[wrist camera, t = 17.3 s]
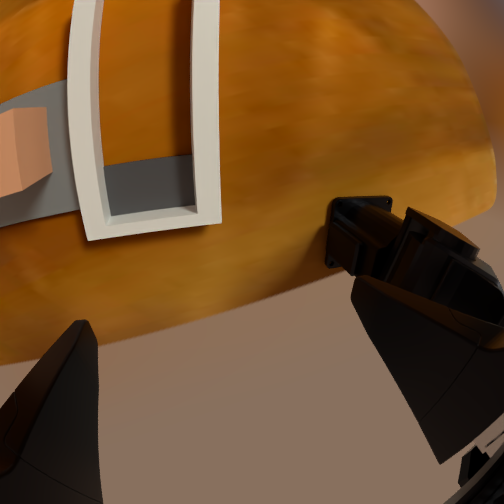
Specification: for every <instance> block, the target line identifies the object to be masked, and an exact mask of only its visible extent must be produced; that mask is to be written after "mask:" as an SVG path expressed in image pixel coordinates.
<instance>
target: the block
mask: <svg viewBox="0 0 504 504" xmlns="http://www.w3.org/2000/svg"><path fill="white" fill-rule="evenodd" d="M52 172H53V170H52V163H51V156H50V148H49V138H48V126H47V108H46V107H29V108H13V109H10V110H8V111H6V112H4V113H1V114H0V197H3V196H6V195H9V194H13V193H16V192H19V191H23V190H24V189H26V188H27V187H29V186H30V185H32V184H34V183H35V182H37V181H38V180H40V179H42V178H43V177H45V176H47V175H48V174H50V173H52Z"/></svg>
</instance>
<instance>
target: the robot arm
mask: <svg viewBox="0 0 504 504" xmlns="http://www.w3.org/2000/svg"><path fill="white" fill-rule="evenodd" d="M387 201H388V202H387ZM392 201H393V200H392V198H391V197H389V196H356V197H337V198H335V199H334V201H333V204H332V212H331V221H330V224H329V230H328V238H327V245H326V257H325V265H326V266H327V267H328V268H336V267H343V268H344V269H345V270H346V271H347V272H348V273H349V274H350V275H351V276H356V278H355V280H354V284H353V288H352V292H351V302H352V304H353V306H354V308H355V310H356V312H357V314H358V316H359V318H360V320H361V322H362V324H363V326H364V328H365V330H366V332H367V334H368V336H369V338H370V339H371V341H372V342H373V344H374V346H375V347H376V349H377V351H378V353H379V354H380V356H381V357H382V359H383V361H384V363H385V364H386V366H387V368H388V369H389V371H390V373H391V375H392V376H393V378H394V380H395V381H396V383H397V385H398V387H399V389H400V390H401V392H402V394H403V396H404V397H405V399H406V401H407V403H408V405H409V407H410V408H411V410H412V412H413V414H414V416H415V418H416V420H417V421H418V422H419V425H420V427H421V429H422V431H423V433H424V435H425V437H426V439H427V441H428V443H429V445H430V447H431V449H432V451H433V453H434V455H435V457H436V459H437V461H438V463H439V464H440V465H441V464H442V463H444V462H445V461H446V460H448V459H449V458H451V457H452V456H453V455H455V454H456V453H458V452H459V451H460V450H461V449H463V448H464V447H465V446H467V445H468V444H469V443H470V442H472V441H474V443H475V445H474V446H473V447H472V448H471V449H470V450H469V451H468V452H467V453H466V454H465V455H464V456H463V457H462V463H461V468H460V474H459V480H458V484H459V485H460V487H461V489H460V490H458V491H457V493H455V494H454V495H453V496H452V497H451V498H450V499H448V500H447V501H446V502H445V503H444V504H504V291H503V289H502V287H501V284H500V282H499V280H498V278H497V276H496V275H495V273H494V271H493V270H492V268H491V266H489V265H488V264H487V263H485V262H484V261H482V260H481V259H479V258H478V257H477V254H478V252H479V250H480V248H479V247H478V246H476V245H475V244H474V243H473V242H472V241H470V240H469V239H468V238H467V237H465V236H464V235H463V234H462V233H460V232H459V231H457V230H456V229H454V228H452V227H450V226H449V225H447V224H445V223H443V222H442V221H440V220H438V219H436V218H433V217H431V216H429V215H427V214H424V213H422V212H420V211H417V210H415V209H413V208H410V207H408V208H407V210H406V213H405V214H406V216H405V219H404V220H402V219H400V218H399V217H397V216H395V215H394V214H392V213H391V208H392ZM339 202H340V205H339V206H338V203H339ZM331 261H332V262H331ZM330 262H331V263H330ZM329 263H330V264H329ZM98 393H99V378H98V344H97V339H96V337H95V334H94V332H93V330H92V328H91V326H90V324H89V322H88V321H87V320H76V321H74V322H73V323H72V325H71V326H70V327H69V328H68V329H67V330H66V331H65V332H64V333H63V334H62V335H61V336H60V337H59V339H58V340H57V341H56V342H55V343H54V344H53V345H52V346H51V347H50V349H49V350H48V351H47V352H46V353H45V354H44V355H43V357H42V358H41V359H40V360H39V361H38V362H37V364H36V365H35V366H34V367H33V368H32V370H31V371H30V372H29V373H28V374H27V376H26V377H25V378H24V379H23V380H22V382H21V383H20V384H19V385H18V387H17V388H16V389H15V392H13V393H12V394H11V396H10V397H9V398H8V399H7V401H6V402H5V403H4V404H3V406H2V407H1V408H0V504H103V498H102V491H101V481H100V469H99V453H98V395H99V394H98Z"/></svg>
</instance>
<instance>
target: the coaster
mask: <svg viewBox="0 0 504 504" xmlns="http://www.w3.org/2000/svg"><path fill="white" fill-rule="evenodd" d="M29 107H46V108H47V126H48V138H49V148H50V156H51V163H52V170H53V172H52V173H50V174H48V175H47V176H45V177H43V178H42V179H40V180H38V181H37V182H35V183H34V184H32V185H30V186H29V187H27V188H26V189H24V190H23V191H19V192H16V193H13V194H9V195H6V196H3V197H0V227H3V226H7V225H11V224H15V223H19V222H23V221H27V220H32V219H36V218H41V217H45V216H50V215H54V214H59V213H64V212H69V211H74V210H80V204H79V199H78V194H77V188H76V182H75V176H74V169H73V162H72V154H71V145H70V134H69V120H68V96H67V79H65V80H62V81H59V82H56V83H53V84H50V85H47V86H44V87H41V88H38V89H35V90H33V91H30V92H28V93H25V94H23V95H20V96H18V97H15V98H13V99H11V100H9V101H6V102H4V103H2V104H0V114H1V113H4V112H6V111H8V110H10V109H13V108H29Z"/></svg>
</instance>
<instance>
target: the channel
mask: <svg viewBox="0 0 504 504" xmlns="http://www.w3.org/2000/svg"><path fill="white" fill-rule="evenodd" d="M103 4H104V0H75V1H74V7H73V13H72V21H71V29H70V38H69V51H68V74H67V96H68V120H69V134H70V145H71V154H72V162H73V169H74V176H75V182H76V188H77V194H78V199H79V204H80V209H81V214H82V218H83V223H84V227H85V231H86V235H87V239H88V241H92V240H98V239H105V238H111V237H118V236H125V235H132V234H139V233H146V232H154V231H161V230H169V229H177V228H184V227H193V226H201V225H209V224H218V223H222V216H221V191H220V158H219V97H218V60H219V4H220V0H192V10H191V37H190V113H191V143H192V154H191V155H181V156H171V157H163V158H155V159H147V160H140V161H133V162H127V163H121V164H115V165H109V166H104V163H103V154H102V144H101V132H100V117H99V86H98V75H99V45H100V31H101V20H102V11H103Z"/></svg>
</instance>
